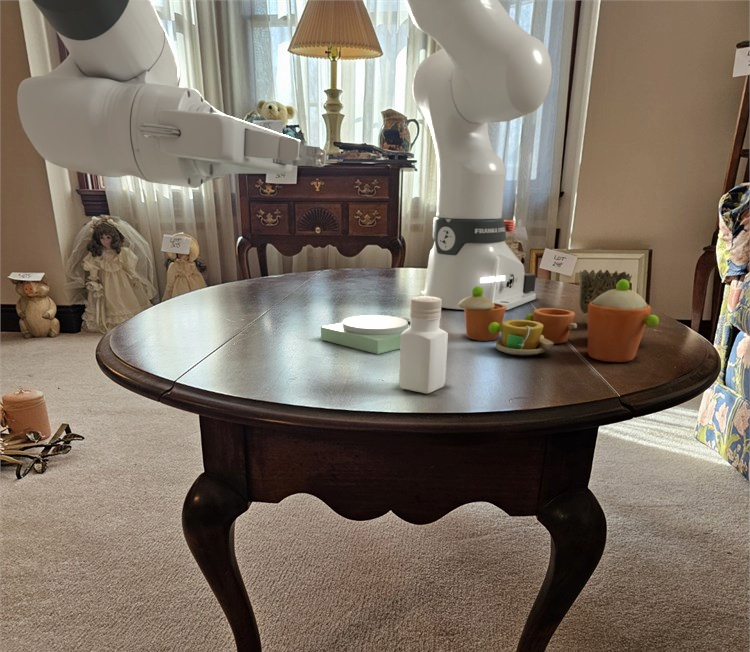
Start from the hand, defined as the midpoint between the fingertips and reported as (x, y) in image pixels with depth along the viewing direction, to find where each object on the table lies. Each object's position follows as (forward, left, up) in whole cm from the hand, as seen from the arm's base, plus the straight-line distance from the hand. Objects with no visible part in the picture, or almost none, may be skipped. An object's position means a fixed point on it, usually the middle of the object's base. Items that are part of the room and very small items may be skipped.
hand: (313, 154), depth 64 cm
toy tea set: (-33, +11, -23) cm, 41 cm away
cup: (-50, +9, -23) cm, 55 cm away
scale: (-19, -8, -23) cm, 30 cm away
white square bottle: (-6, +11, -23) cm, 26 cm away
